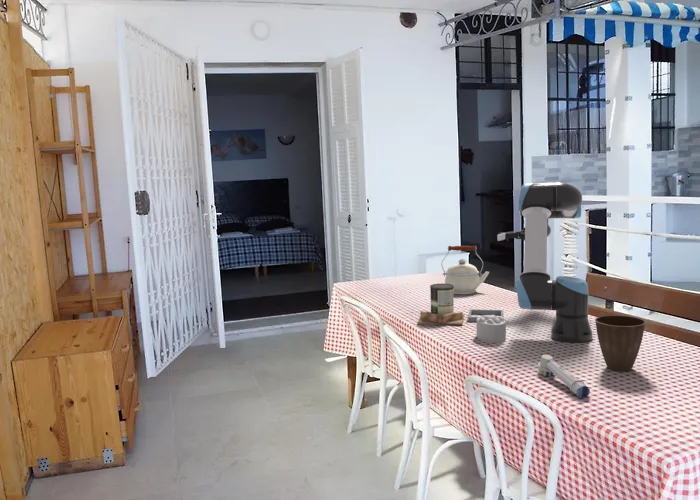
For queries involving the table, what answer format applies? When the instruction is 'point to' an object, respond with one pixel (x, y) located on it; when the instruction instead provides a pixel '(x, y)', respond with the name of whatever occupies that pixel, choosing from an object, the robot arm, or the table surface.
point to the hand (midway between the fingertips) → (512, 238)
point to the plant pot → (620, 340)
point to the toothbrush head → (562, 376)
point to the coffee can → (442, 298)
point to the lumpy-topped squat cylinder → (491, 329)
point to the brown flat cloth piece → (441, 318)
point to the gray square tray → (486, 312)
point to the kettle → (463, 274)
